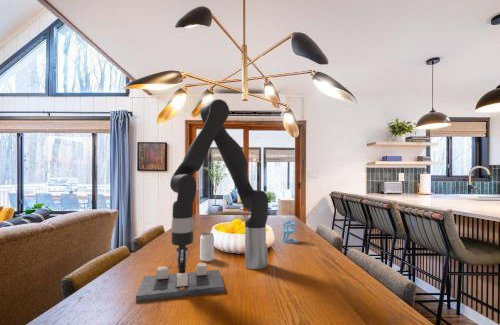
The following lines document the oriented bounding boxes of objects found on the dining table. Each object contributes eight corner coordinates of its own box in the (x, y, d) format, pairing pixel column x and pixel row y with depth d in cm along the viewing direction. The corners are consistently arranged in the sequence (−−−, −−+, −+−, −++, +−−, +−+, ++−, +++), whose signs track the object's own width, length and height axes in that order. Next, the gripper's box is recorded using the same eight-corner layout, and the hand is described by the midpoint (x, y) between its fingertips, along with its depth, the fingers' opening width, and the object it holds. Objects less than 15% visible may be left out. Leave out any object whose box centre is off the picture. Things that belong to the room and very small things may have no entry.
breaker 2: (206, 272, 98) (206, 262, 99) (206, 274, 96) (206, 264, 96) (196, 273, 98) (196, 262, 98) (196, 275, 95) (196, 265, 95)
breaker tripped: (187, 282, 89) (187, 271, 89) (187, 285, 87) (187, 273, 87) (176, 283, 88) (177, 272, 88) (176, 286, 86) (176, 274, 86)
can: (211, 262, 117) (211, 235, 118) (197, 261, 118) (198, 235, 119) (215, 257, 124) (215, 232, 124) (203, 257, 125) (203, 232, 125)
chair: (280, 240, 156) (280, 220, 157) (293, 239, 158) (293, 220, 159) (285, 243, 149) (285, 223, 150) (298, 242, 151) (298, 222, 152)
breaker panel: (218, 274, 102) (218, 269, 102) (224, 292, 87) (224, 285, 87) (143, 281, 96) (144, 275, 96) (135, 302, 80) (135, 295, 80)
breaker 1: (168, 275, 95) (168, 265, 95) (167, 278, 93) (167, 267, 93) (157, 276, 94) (158, 266, 94) (157, 279, 92) (157, 268, 92)
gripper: (193, 233, 86) (193, 285, 85) (192, 225, 99) (192, 271, 98) (170, 234, 84) (169, 288, 83) (172, 226, 97) (171, 273, 96)
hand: (181, 278), depth 91 cm, fingers closed
